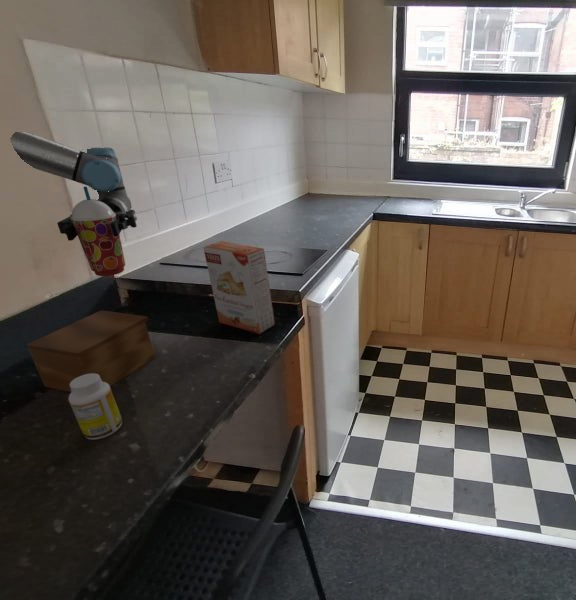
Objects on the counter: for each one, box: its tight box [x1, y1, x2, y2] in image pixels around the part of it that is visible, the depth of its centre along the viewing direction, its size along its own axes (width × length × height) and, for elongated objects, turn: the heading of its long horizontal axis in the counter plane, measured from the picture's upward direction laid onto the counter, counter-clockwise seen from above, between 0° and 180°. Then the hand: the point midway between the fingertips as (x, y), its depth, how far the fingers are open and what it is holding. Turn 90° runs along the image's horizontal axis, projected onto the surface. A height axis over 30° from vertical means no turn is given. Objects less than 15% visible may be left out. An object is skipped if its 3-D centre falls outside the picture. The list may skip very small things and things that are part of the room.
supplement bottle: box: [67, 373, 123, 441], centre depth 66 cm, size 6×6×10 cm
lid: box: [26, 309, 149, 357], centre depth 81 cm, size 16×13×1 cm
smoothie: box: [69, 186, 126, 277], centre depth 92 cm, size 8×8×20 cm
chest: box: [27, 322, 156, 393], centre depth 83 cm, size 15×13×9 cm
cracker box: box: [202, 240, 276, 335], centre depth 99 cm, size 14×6×21 cm, turn 65°
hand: (92, 232), depth 88 cm, fingers closed on smoothie, 8 cm apart
